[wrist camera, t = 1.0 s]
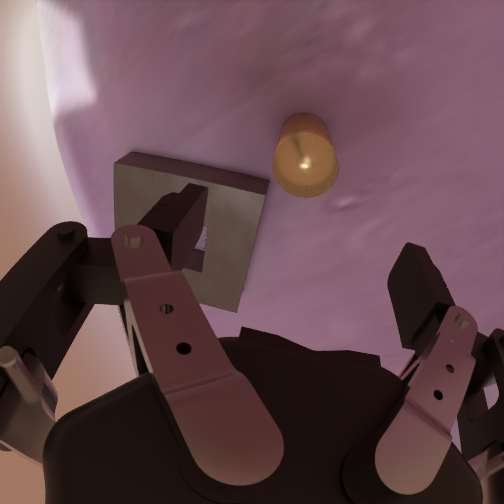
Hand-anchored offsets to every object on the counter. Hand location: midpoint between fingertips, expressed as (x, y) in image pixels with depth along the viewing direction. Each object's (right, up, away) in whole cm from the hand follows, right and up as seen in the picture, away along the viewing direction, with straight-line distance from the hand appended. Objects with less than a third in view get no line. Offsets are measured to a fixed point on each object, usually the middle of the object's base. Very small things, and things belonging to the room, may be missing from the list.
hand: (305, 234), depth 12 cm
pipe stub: (+3, +9, +14) cm, 17 cm away
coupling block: (-9, +2, +21) cm, 23 cm away
